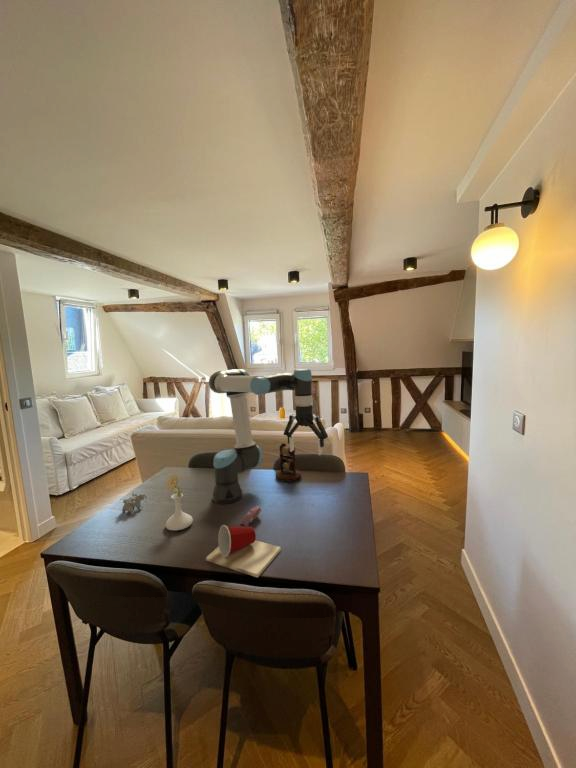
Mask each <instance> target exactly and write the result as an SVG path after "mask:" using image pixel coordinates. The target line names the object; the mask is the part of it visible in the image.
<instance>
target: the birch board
mask: <svg viewBox="0 0 576 768" xmlns="http://www.w3.org/2000/svg"><path fill="white" fill-rule="evenodd" d="M281 551H282V550H281V546H278V545H274V544H270V543H266V542H262V541H260V540H256V539H255V542H254V543H252V544H250V545H248V546H246V547H244V548H242V549H240V550H237V551H235V552H234V553H232V554H230V555H228V556H227V557H225V558H224V557H223V556H222V555H221V553H220V549H219V545H218V546H217V547H216V548H214V550H213V551H211V552H210V553H209V554H208V555H207V556H206V557H205V561H206V562H210V563H212V564H216V565H217V566H218V565H219V566H222V567H224V568H228V569H231V570H234V571H236V572H240V573H243V574H245V575H249V576H252V577H254V578H259V577H260V576H261V575H262V573H263V572H264V571H265V569H267V567H268V566H269V565H270V564H271V562H272V561H273V560H274V559H275V558H276V557H277V556H278V554H279V553H280V552H281Z"/></svg>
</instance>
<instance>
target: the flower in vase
mask: <svg viewBox="0 0 576 768" xmlns="http://www.w3.org/2000/svg"><path fill="white" fill-rule="evenodd" d="M179 478H180V477H179V475H178V473H177V472H175V473H174V472H172V473H171V474H170V476H168V479H167V482H166V491H167V492H168V493H170V492H173V494H172V495H171V496H170V498H171V499H172V500H173V503H174V509H175V510H174V511H175V512H174V513H173V514H172V515H171V516H170V517H169V518H168V519H167V520H166V522H165V528H166V529H167V530H169V531H175V532H176V531H181V530H184V529H187V528H189V527H190V526H191V525H192V523H193V522H194V518H193V516H192V515H190V514H188V513H186V512H185V511H182V505H181V504H182V499H183V496H184V494H183V493H182V492H181V491H182V490H180V488H179V486H178V485H179Z"/></svg>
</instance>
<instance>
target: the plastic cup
mask: <svg viewBox="0 0 576 768" xmlns="http://www.w3.org/2000/svg"><path fill="white" fill-rule="evenodd" d="M256 537H257V534H256V531H255V529H254V528H253V526H228V525H225V524H222V525H221V526H220V528H219V531H218V535H217V538H218V539H217V541H218V546H219V549H220V553H221V555H222V556H223V557H224V558H225V557H227V556H228V555H230V554H232V553H234V552H235V551H237V550H240V549H242V548H244V547H246V546H248V545H250V544H252V543H254V542H255V540H256Z"/></svg>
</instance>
